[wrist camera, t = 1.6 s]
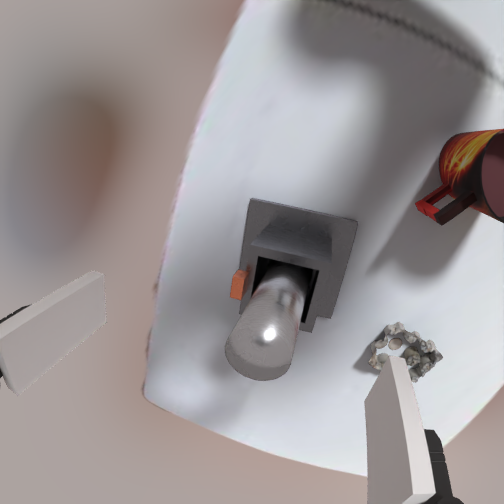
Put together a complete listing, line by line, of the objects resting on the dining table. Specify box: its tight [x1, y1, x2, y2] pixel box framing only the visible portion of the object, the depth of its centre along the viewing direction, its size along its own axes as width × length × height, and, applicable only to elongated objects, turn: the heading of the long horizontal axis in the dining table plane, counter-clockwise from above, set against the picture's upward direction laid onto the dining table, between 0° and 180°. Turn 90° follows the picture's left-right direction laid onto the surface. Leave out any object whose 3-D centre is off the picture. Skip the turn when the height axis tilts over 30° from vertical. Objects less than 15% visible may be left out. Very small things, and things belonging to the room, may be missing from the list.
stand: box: [230, 198, 358, 333], centre depth 35 cm, size 14×14×12 cm
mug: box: [415, 129, 504, 226], centre depth 26 cm, size 10×14×12 cm
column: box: [225, 259, 313, 381], centre depth 31 cm, size 6×6×20 cm
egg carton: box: [368, 322, 443, 382], centre depth 39 cm, size 11×8×4 cm
